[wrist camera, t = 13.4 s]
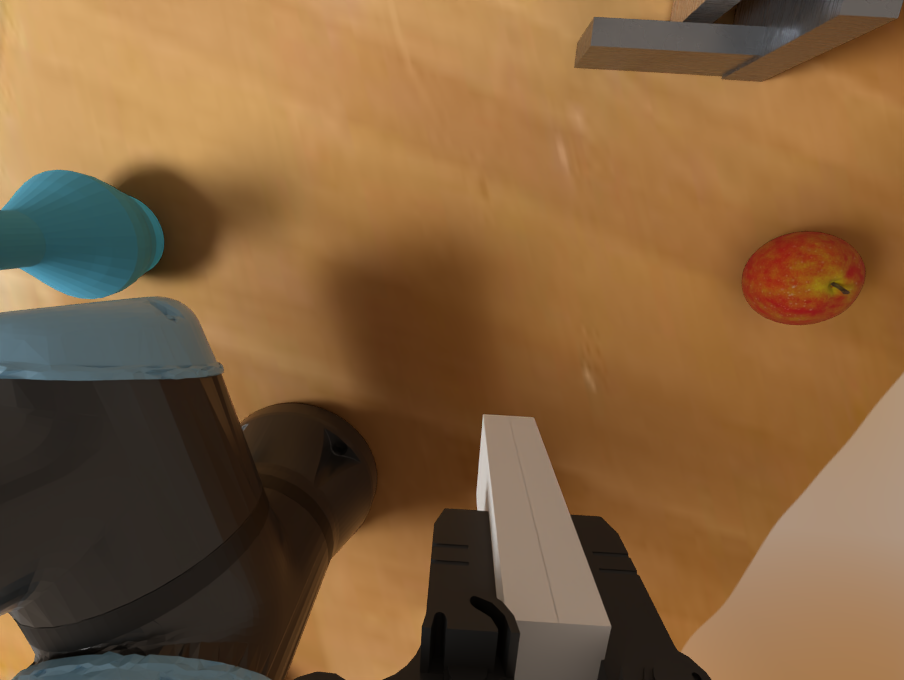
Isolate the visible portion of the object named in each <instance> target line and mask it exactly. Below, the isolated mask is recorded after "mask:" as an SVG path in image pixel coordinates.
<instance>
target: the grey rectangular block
mask: <svg viewBox="0 0 904 680" xmlns="http://www.w3.org/2000/svg"><path fill="white" fill-rule="evenodd" d="M740 1H741V0H674V1H673V7H672V13H671V19H670V21H675V22H692V23H710V24H712V23H713V22H714V21H716V20H717V19H718V18H719V17H721V16H722V15H723V14H724V13H726V12H727V11H728V10H730V9H731V8H732V7H733V6H735V5H736V4H737V3H738V2H740Z"/></svg>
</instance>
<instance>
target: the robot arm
mask: <svg viewBox="0 0 904 680" xmlns="http://www.w3.org/2000/svg"><path fill="white" fill-rule="evenodd" d="M221 373H224V368H223V365H222V364H221V363H219V362H217V361H216V359H215V357H214V354H213V352H212V350H211V348H210V345H209V343H208V341H207V339H206V336H205V334H204V332H203V329H202V327H201V325H200V323H199V320H198V319H197V317H196V315H195V314H194V313H193V312H192V310H191V309H189V308H188V307H187V306H186V305H184V304H182V303H181V302H179V301H176V300H174V299H170V298H166V297H142V298H132V299H122V300H112V301H103V302H93V303H84V304H74V305H65V306H56V307H46V308H37V309H28V310H19V311H10V312H1V313H0V616H1V615H3V614H5V613H9V614H10V615H11V616H12V617H13V618H14V620H15V621H16V622H17V624H18V626H19V627H20V629H21V630H22V632H23V634H24V635H25V637H26V639H27V641H28V642H29V644H30V645H31V647H32V649H33V651H34V653H35V659H34V662H33V663H32V664H31V665H30V666H29V667H28V668H27V669H24V670H22V671H20V672H19V673H18V674H17V675H16V676H15V677H14V678H13V679H12V680H285V678H286V676H287V673H288V670H289V668H290V665H291V662H292V660H293V657H294V655H295V652H296V649H297V647H298V644H299V641H300V639H301V636H302V634H303V631H304V628H305V626H306V623H307V620H308V618H309V615H310V613H311V610H312V607H313V605H314V602H315V599H316V597H317V594H318V592H319V589H320V586H321V584H322V581H323V578H324V576H325V573H326V570H327V568H328V565H329V562H330V560H331V558H332V557H333V556H334V555H335V554H336V553H337V552H338V551H339V550H340V549H341V548H342V546H343V545H344V544H345V543H346V542H347V541H348V540H349V539H350V537H351V536H352V535H353V534H354V533H355V532H356V531H357V530H358V529H359V527H360V526H361V525H362V523H363V522H364V520H365V518H366V517H367V515H368V512H369V510H370V507H371V504H372V501H373V498H374V495H375V491H376V485H377V471H376V465H375V461H374V458H373V455H372V453H371V451H370V449H369V447H368V445H367V443H366V442H365V440H364V439H363V438H362V436H361V435H360V434H359V433H358V432H357V431H356V430H355V429H354V428H353V427H352V426H351V425H350V424H349V423H347V422H346V421H345V420H343V419H342V418H340V417H339V416H337V415H335V414H333V413H331V412H329V411H327V410H324V409H322V408H319V407H315V406H311V405H306V404H298V403H285V404H277V405H272V406H269V407H266V408H263V409H260V410H258V411H256V412H254V413H253V414H251V415H249V416H248V417H247V418H245V419H244V420H243V421H242V422H241V423H240V422H239V420H238V417H237V414H236V412H235V409H234V406H233V404H232V401H231V398H230V396H229V393H228V390H227V387H226V385H225V382H224V379H223V377H222V374H221ZM476 496H477V510H462V509H446V508H445V509H444V510H443V512H442V513H441V515H440V516H439V518H438V519H437V521H436V522H435V523H434V532H433V543H432V554H431V566H430V577H429V588H428V599H427V610H426V616H425V619H424V622H423V625H422V636H421V646H420V648H419V650H418V652H417V654H416V655H415V656H414V658H413V659H412V660H411V661H410V662H409V664H408V665H407V666H405V667H404V668H403V669H401V670H400V671H399V672H397V673H396V674H395V675H392V676H390V677H388V678H386V679H383V680H711V679H710V677H709V676H708V675H707V673H706V672H705V671H704V670H703V669H702V668H700V667H699V666H698V665H697V664H696V663H695V662H694V661H693V660H692V659H690V658H689V657H688V656H686V655H684V654H683V653H681V652H679V651H678V650H677V649H676V647H675V646H674V644H673V642H672V640H671V638H670V636H669V634H668V632H667V630H666V628H665V626H664V624H663V622H662V620H661V618H660V616H659V614H658V612H657V610H656V608H655V606H654V604H653V602H652V600H651V598H650V596H649V594H648V592H647V590H646V588H645V586H644V584H643V582H642V580H641V578H640V576H639V575H637V570H636V568H635V566H634V564H633V562H632V560H631V558H629V557H628V552H627V550H626V548H625V546H624V544H623V542H622V540H621V539H620V537H619V535H618V533H617V532H616V531H615V530H614V529H613V528H612V527H611V526H610V525H609V524H608V523H607V522H606V521H605V520H604V519H603V518H602V517H599V516H583V515H570V513H569V511H568V508H567V505H566V503H565V500H564V497H563V495H562V492H561V489H560V487H559V484H558V481H557V478H556V476H555V473H554V470H553V468H552V465H551V462H550V460H549V457H548V454H547V451H546V449H545V446H544V443H543V441H542V438H541V435H540V433H539V430H538V427H537V425H536V422H535V419H534V417H521V416H505V415H489V414H483V421H482V433H481V445H480V456H479V468H478V480H477V492H476ZM294 680H345V679H343V678H342V677H340V676H339V675H337V674H335V673H326V672H314V673H311V674H307V675H304V676H300V677H297V678H296V679H294Z"/></svg>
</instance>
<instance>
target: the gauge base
mask: <svg viewBox="0 0 904 680" xmlns="http://www.w3.org/2000/svg"><path fill="white" fill-rule="evenodd" d="M902 3H903V0H741V1H740V2H738V3H737V8H736V13H735V17H734V22H733V25H727V24H710V23H692V22H675V21H657V20H639V19H622V18H604V17H594V18H593V20H592V21H591V23H590V24H589V26H588V27H587V29H586V30H585V32H584V33H583V35H582V37H581V38H580V40H579V41H578V43H577V51H576V59H575V67H574V68H589V69H607V70H624V71H641V72H659V73H676V74H694V75H711V76H722V79H727V80H744V81H764V80H766V79H768V78H771V77H773V76H775V75H777V74H779V73H781V72H783V71H786V70H788V69H790V68H792V67H794V66H796V65H799V64H801V63H803V62H805V61H807V60H809V59H811V58H814V57H816V56H818V55H820V54H822V53H824V52H826V51H829V50H831V49H833V48H835V47H837V46H839V45H841V44H844V43H846V42H848V41H850V40H852V39H854V38H856V37H859V36H861V35H863V34H865V33H867V32H869V31H871V30H874V29H876V28H878V27H880V26H882V25H884V24H887V23H889V22H891V21H893V20H895V19H897V18H898V17H899V13H900V10H901V7H902Z"/></svg>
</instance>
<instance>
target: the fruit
mask: <svg viewBox="0 0 904 680" xmlns="http://www.w3.org/2000/svg"><path fill="white" fill-rule="evenodd" d="M864 281H865V266H864V263H863V260H862V258H861V256H860V255H859V254H858V252H857V251H856V250H855V249H854V248H853V247H852V246H851V245H850V244H848V243H847V242H846V241H844V240H842V239H840V238H838V237H835V236H833V235H830V234H825V233H821V232H809V231H804V232H795V233H790V234H786V235H783V236H780V237H778V238H775V239H773V240H771V241H769V242H768V243H766V244H764V245H763V246H762V247H761V248H759V249H758V250H757V251H756V252H755V253H754V254H753V255H752V256H751V258H750V259H749V260H748V262H747V264H746V265H745V268H744V271H743V275H742V289H743V293H744V296H745V298H746V300H747V302H748V303H749V305H750V306H751V307H752V308H753V309H754V310H755V311H756V312H757V313H759V314H760V315H762V316H763V317H765V318H767V319H770V320H772V321H775V322H778V323H783V324H789V325H807V324H814V323H818V322H821V321H825V320H827V319H830V318H832V317H835V316H837V315H839V314H841V313H842V312H844V311H845V310H846V309H847V308H848V307H849V306H850V305H851V304H852V303H853V302H854V301H855V299H856V298H857V296H858V295H859V293H860V291H861V289H862V287H863V284H864Z"/></svg>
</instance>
